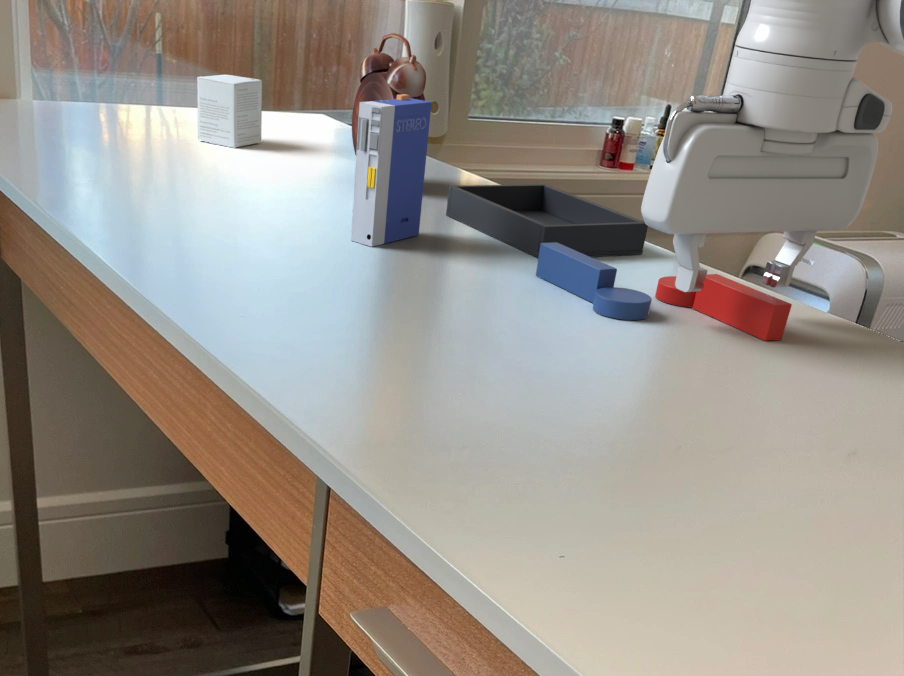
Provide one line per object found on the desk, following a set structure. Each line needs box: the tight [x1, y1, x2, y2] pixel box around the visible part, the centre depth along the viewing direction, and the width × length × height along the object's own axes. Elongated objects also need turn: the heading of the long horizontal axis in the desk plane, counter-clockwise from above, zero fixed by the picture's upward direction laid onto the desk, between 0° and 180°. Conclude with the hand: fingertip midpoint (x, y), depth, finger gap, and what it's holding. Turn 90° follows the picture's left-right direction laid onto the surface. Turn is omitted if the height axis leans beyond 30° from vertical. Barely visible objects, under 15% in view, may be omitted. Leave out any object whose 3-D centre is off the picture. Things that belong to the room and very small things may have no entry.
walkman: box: [350, 94, 432, 247], centre depth 104 cm, size 8×3×12 cm, turn 143°
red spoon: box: [654, 273, 793, 342], centre depth 93 cm, size 14×5×3 cm, turn 26°
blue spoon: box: [535, 242, 653, 321], centre depth 95 cm, size 14×5×3 cm, turn 26°
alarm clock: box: [351, 33, 427, 156], centre depth 126 cm, size 11×5×15 cm, turn 28°
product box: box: [196, 74, 263, 149], centre depth 143 cm, size 6×6×7 cm
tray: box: [445, 183, 649, 259], centre depth 114 cm, size 18×12×3 cm
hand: (732, 287), depth 92 cm, fingers open, 8 cm apart
